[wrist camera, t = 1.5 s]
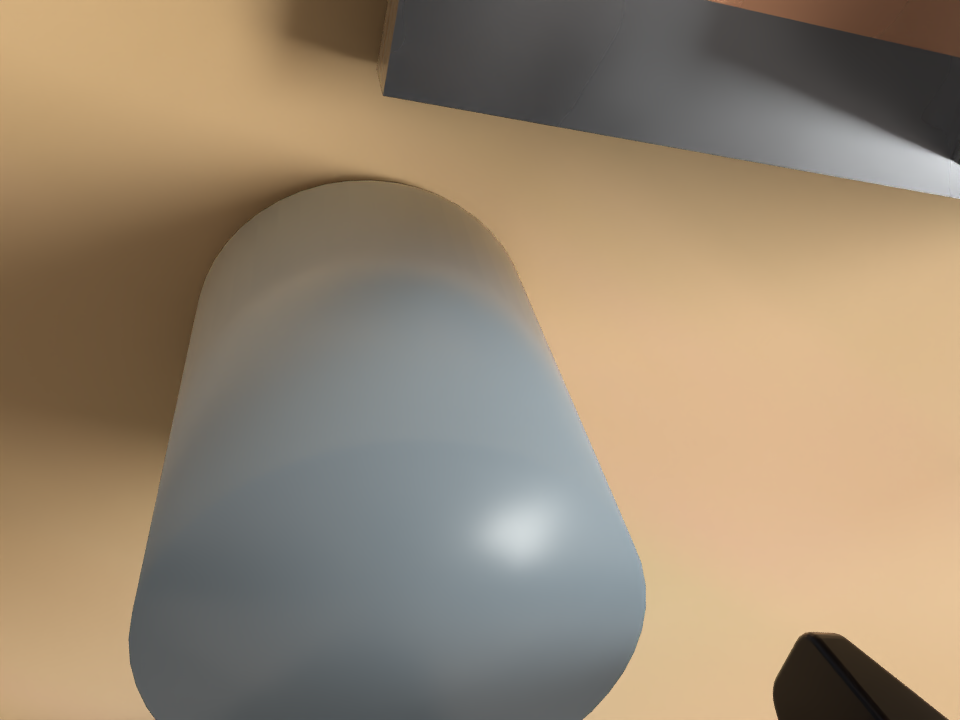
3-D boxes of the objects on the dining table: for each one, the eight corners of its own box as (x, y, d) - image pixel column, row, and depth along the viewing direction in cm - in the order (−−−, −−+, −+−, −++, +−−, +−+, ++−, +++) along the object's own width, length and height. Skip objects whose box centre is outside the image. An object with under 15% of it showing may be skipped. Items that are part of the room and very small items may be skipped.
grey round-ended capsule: (486, 475, 16) (569, 796, 11) (186, 452, 15) (122, 804, 10) (562, 208, 13) (716, 464, 8) (207, 153, 12) (137, 415, 7)
